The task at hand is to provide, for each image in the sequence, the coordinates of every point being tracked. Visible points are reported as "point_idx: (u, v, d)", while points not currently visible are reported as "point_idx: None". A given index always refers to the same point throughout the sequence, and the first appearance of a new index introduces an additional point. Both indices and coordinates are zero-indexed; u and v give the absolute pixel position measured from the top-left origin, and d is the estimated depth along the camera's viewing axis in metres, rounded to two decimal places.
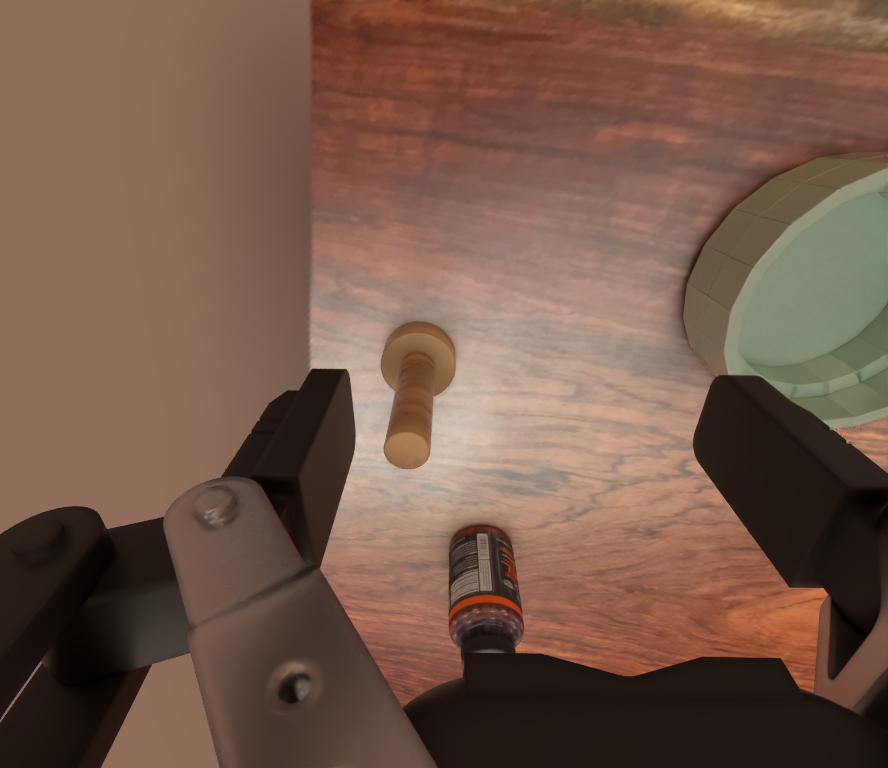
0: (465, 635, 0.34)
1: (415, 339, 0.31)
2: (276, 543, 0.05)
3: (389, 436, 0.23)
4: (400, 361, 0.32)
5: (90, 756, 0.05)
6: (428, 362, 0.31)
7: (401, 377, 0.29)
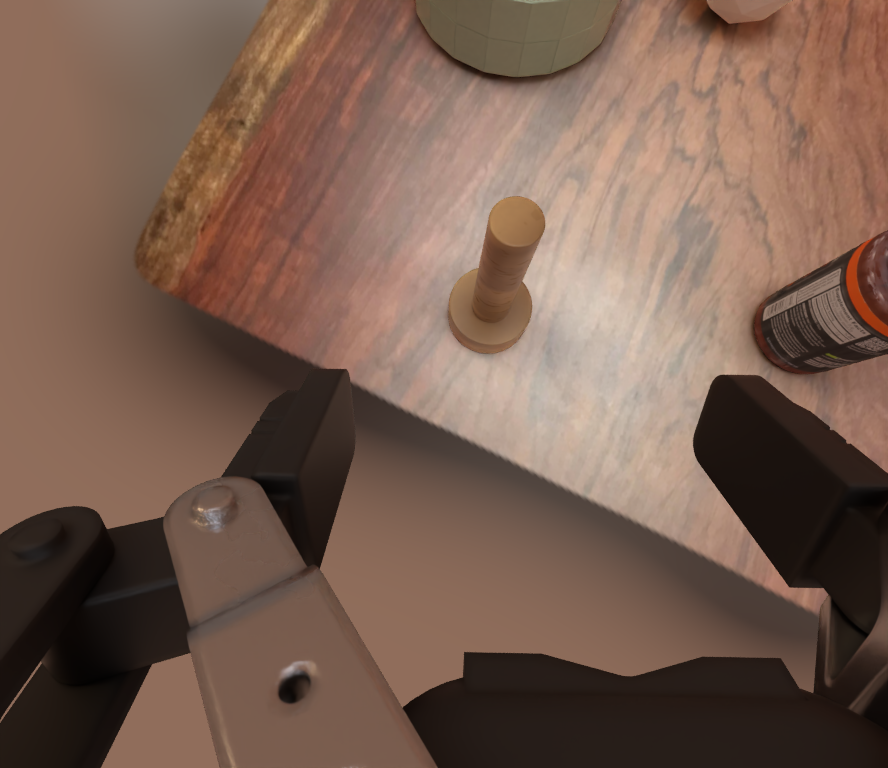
0: None
1: (457, 296, 0.29)
2: (276, 543, 0.05)
3: (492, 235, 0.19)
4: (478, 320, 0.28)
5: (89, 756, 0.05)
6: None
7: (478, 293, 0.25)
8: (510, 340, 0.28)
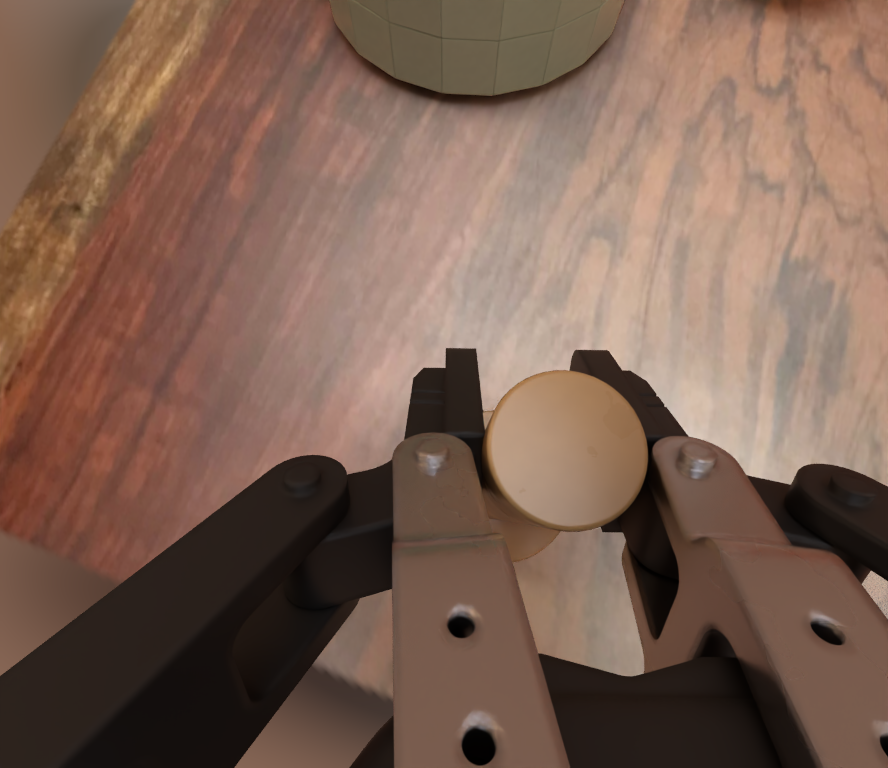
0: None
1: None
2: (472, 503, 0.06)
3: (501, 495, 0.07)
4: None
5: (291, 675, 0.06)
6: None
7: None
8: (541, 548, 0.15)
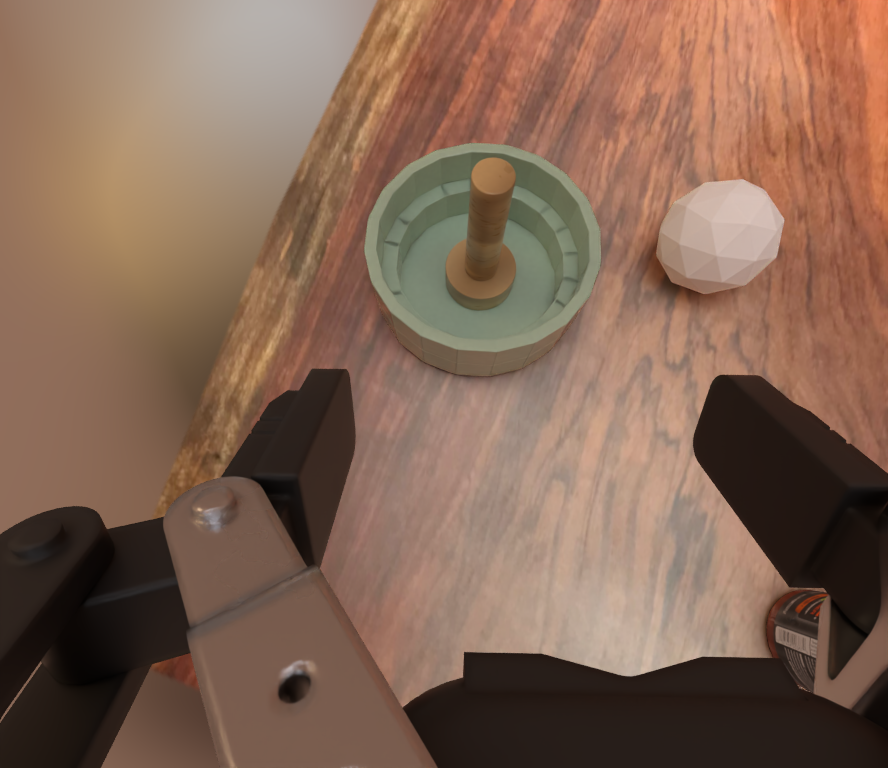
0: None
1: (452, 263, 0.34)
2: (276, 543, 0.05)
3: (475, 188, 0.24)
4: (471, 279, 0.33)
5: (89, 756, 0.05)
6: None
7: (469, 251, 0.30)
8: (501, 293, 0.33)
